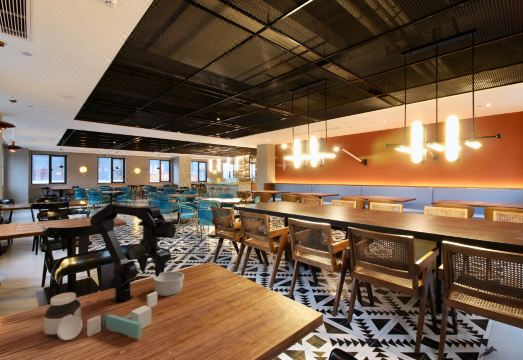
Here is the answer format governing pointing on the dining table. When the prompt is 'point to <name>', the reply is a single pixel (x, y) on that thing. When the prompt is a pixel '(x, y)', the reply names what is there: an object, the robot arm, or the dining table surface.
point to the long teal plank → (123, 326)
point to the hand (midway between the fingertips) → (150, 274)
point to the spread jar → (63, 317)
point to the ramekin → (168, 283)
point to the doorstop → (142, 316)
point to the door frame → (99, 321)
